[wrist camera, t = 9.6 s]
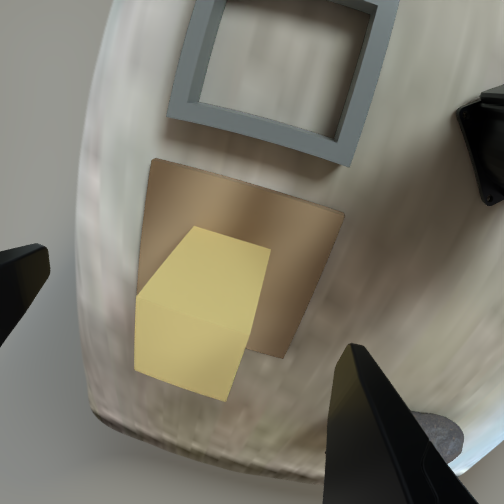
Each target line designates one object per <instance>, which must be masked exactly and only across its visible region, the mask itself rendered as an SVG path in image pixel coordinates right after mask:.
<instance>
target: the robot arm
mask: <svg viewBox="0 0 504 504" xmlns="http://www.w3.org/2000/svg"><path fill="white" fill-rule="evenodd" d="M464 111H465V112H466V114H467V117H466V118H465V119H464V118H463V112H464ZM456 115H457V119H458V121H459V124H460V127H461V130H462V133H463V136H464V139H465V142H466V145H467V148H468V151H469V154H470V157H471V161H472V164H473V168H474V171H475V175H476V179H477V183H478V186H479V190H480V195H481V199H482V201H483V203H484V204H486V205H487V206H492V205H494V204H496V203H498V202H500V201H502V200H504V84H503V85H501V86H498V87H495V88H492V89H489V90H487V91H484V92H481V95H480V100H477V101H474V102H472V103H469V104H467V105H464V106H462V107H460V108H458V110H457V113H456ZM489 195H490V199H489V200H487V197H488V196H489ZM49 275H50V262H49V254H48V249H47V248H46V247H45V246H43V245H40V244H38V243H35V244H30V245H26V246H22V247H18V248H13V249H9V250H5V251H1V252H0V347H1V346H2V344H3V343H4V341H5V340H6V338H7V337H8V336H9V334H10V333H11V332H12V330H13V329H14V327H15V326H16V325H17V323H18V322H19V321H20V319H21V318H22V317H23V315H24V314H25V313H26V311H27V309H28V308H29V306H30V305H31V303H32V302H33V300H34V299H35V297H36V295H37V294H38V292H39V291H40V289H41V288H42V286H43V285H44V283H45V282H46V280H47V279H48V277H49ZM429 440H430V439H429V437H428V436H427V434H426V433H425V431H424V430H423V428H422V427H421V425H420V424H419V422H418V421H417V420H416V418H415V417H414V415H413V414H412V412H411V411H410V410H409V408H408V407H407V405H406V404H405V402H404V401H403V400H402V398H401V397H400V395H399V394H398V392H397V391H396V390H395V388H394V387H393V385H392V384H391V383H390V381H389V380H388V378H387V377H386V376H385V374H384V373H383V371H382V370H381V369H380V367H379V366H378V364H377V363H376V362H375V360H374V359H373V357H372V356H371V355H370V353H369V352H368V351H367V349H366V348H365V347H364V346H362V345H358V344H354V343H350V344H348V345H347V347H346V348H345V350H344V352H343V354H342V356H341V357H340V359H339V361H338V362H337V365H336V367H335V371H334V379H333V386H332V393H331V400H330V407H329V414H328V423H327V444H326V463H325V479H324V492H323V504H478V502H477V501H476V500H475V499H474V497H473V496H472V495H471V494H470V492H469V491H468V490H467V489H466V487H465V486H464V485H463V484H462V482H461V481H460V480H459V479H458V477H457V476H456V475H455V474H454V472H453V471H452V470H451V468H450V467H449V466H448V464H447V463H446V462H445V460H444V459H443V457H442V456H441V454H440V453H439V452H438V450H437V449H436V447H435V446H434V444H433V443H432V441H429Z"/></svg>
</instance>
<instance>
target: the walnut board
mask: <svg viewBox="0 0 504 504" xmlns="http://www.w3.org/2000/svg"><path fill="white" fill-rule="evenodd" d="M344 217H345V215H344V213H342V212H339V211H336V210H333V209H330V208H327V207H324V206H321V205H318V204H315V203H312V202H309V201H306V200H303V199H300V198H297V197H293V196H290V195H287V194H284V193H281V192H277V191H274V190H271V189H267V188H264V187H261V186H257V185H254V184H251V183H247V182H244V181H240V180H237V179H233V178H230V177H226V176H223V175H219V174H215V173H212V172H208V171H204V170H201V169H197V168H193V167H189V166H185V165H181V164H178V163H174V162H170V161H166V160H162V159H158V158H155V159H153V160H152V161H151V167H150V174H149V180H148V187H147V194H146V202H145V210H144V218H143V227H142V236H141V246H140V257H139V269H138V283H137V295H138V294H139V292H140V291H141V290H142V289H143V287H144V286H145V285H146V284H147V282H148V281H149V280H150V279H151V277H152V276H153V275H154V274H155V272H156V271H157V270H158V269H159V267H160V266H161V265H162V264H163V262H164V261H165V260H166V259H167V258H168V256H169V255H170V254H171V253H172V251H173V250H174V249H175V248H176V247H177V245H178V244H179V243H180V242H181V241H182V239H183V238H184V237H185V236H186V235H187V233H188V232H189V231H190V230H191V229H192V228H193V226H196V227H199V228H202V229H206V230H209V231H212V232H216V233H219V234H222V235H226V236H229V237H232V238H235V239H239V240H242V241H245V242H249V243H252V244H255V245H258V246H262V247H265V248H268V249H271V252H270V256H269V260H268V264H267V268H266V272H265V276H264V280H263V284H262V288H261V292H260V296H259V301H258V305H257V309H256V313H255V317H254V320H253V324H252V328H251V332H250V336H249V339H248V342H247V344H246V347H245V348H247V349H250V350H254V351H257V352H260V353H264V354H267V355H271V356H275V357H278V358H282V359H283V358H284V356H285V354H286V352H287V350H288V347H289V345H290V343H291V341H292V339H293V337H294V335H295V333H296V330H297V328H298V326H299V324H300V322H301V319H302V317H303V315H304V313H305V311H306V308H307V306H308V304H309V302H310V299H311V297H312V295H313V293H314V290H315V288H316V286H317V283H318V281H319V279H320V276H321V274H322V272H323V269H324V267H325V264H326V262H327V260H328V257H329V255H330V252H331V250H332V248H333V245H334V243H335V240H336V238H337V235H338V233H339V230H340V228H341V225H342V223H343V220H344Z"/></svg>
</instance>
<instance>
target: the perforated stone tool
mask: <svg viewBox="0 0 504 504" xmlns="http://www.w3.org/2000/svg"><path fill="white" fill-rule="evenodd" d="M411 412H412V414H413V415H414V417H415V418H416V420H417V421H418V422H419V424H420V425H421V427H422V428H423V430H424V431H425V433H426V434H427V436H428V437H429V439H430V440H429V441H432V443H433V444H434V446H435V447H436V449H437V450H438V452H439V453H440V454H441V456H442V457H443V459H444V460H445V462H446V463H447V464H448V463H450V462H451V461H453V460H454V459H455V458H456V457H458V455H459V454H460V453H461V452H462V446H463V442H464V434H463V432H462V430H461V429H460V427H459V426H458V425H457V424H456V423H454V422H453V421H451V420H450V419H448V418H446V417H443V416H440V415H436V414H428V413H425V414H421V413H419V412H414V411H411ZM325 454H326V452H325Z"/></svg>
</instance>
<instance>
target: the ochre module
mask: <svg viewBox="0 0 504 504" xmlns="http://www.w3.org/2000/svg"><path fill="white" fill-rule="evenodd" d="M270 252H271V249H268V248H265V247H262V246H258V245H255V244H252V243H249V242H245V241H242V240H239V239H235V238H232V237H229V236H226V235H222V234H219V233H216V232H212V231H209V230H206V229H202V228H199V227H196V226H193V228H192V229H191V230H190V231H189V232H188V233H187V235H186V236H185V237H184V238H183V239H182V241H181V242H180V243H179V244H178V245H177V247H176V248H175V249H174V250H173V251H172V253H171V254H170V255H169V256H168V258H167V259H166V260H165V261H164V262H163V264H162V265H161V266H160V267H159V269H158V270H157V271H156V272H155V274H154V275H153V276H152V277H151V279H150V280H149V281H148V282H147V284H146V285H145V286H144V287H143V289H142V290H141V291H140V292H139V294H138V295H137V296H136V313H135V352H134V370H136V371H138V372H141V373H143V374H146V375H149V376H151V377H154V378H156V379H159V380H162V381H164V382H167V383H170V384H173V385H175V386H178V387H181V388H184V389H187V390H190V391H193V392H196V393H199V394H202V395H205V396H208V397H211V398H214V399H218V400H221V401H224V402H226V400H227V397H228V394H229V392H230V389H231V386H232V383H233V381H234V378H235V375H236V372H237V370H238V367H239V364H240V361H241V358H242V356H243V353H244V350H245V347H246V344H247V342H248V339H249V336H250V332H251V328H252V324H253V320H254V317H255V313H256V309H257V305H258V301H259V296H260V292H261V288H262V284H263V280H264V276H265V272H266V268H267V264H268V260H269V256H270Z"/></svg>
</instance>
